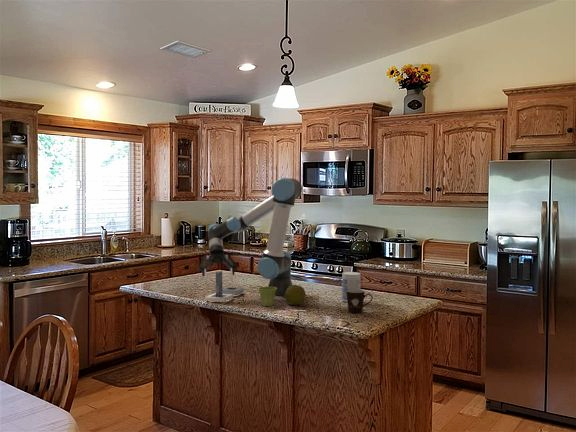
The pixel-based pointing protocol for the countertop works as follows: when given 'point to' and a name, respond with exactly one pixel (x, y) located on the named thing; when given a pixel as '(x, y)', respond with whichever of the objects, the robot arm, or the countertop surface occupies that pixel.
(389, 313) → the countertop surface
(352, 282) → the supplement tub
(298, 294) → the apple
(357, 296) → the coffee mug
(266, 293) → the plant pot
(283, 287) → the robot arm
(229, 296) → the block
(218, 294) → the rod
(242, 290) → the socket block
